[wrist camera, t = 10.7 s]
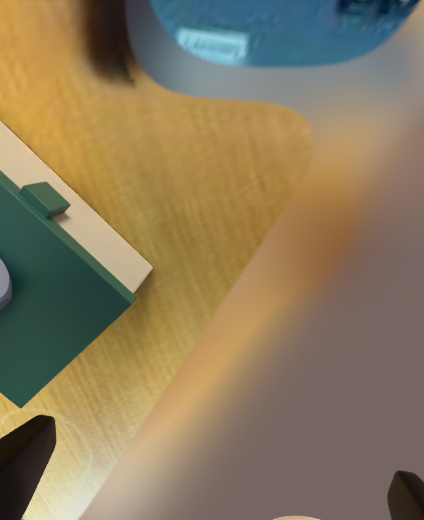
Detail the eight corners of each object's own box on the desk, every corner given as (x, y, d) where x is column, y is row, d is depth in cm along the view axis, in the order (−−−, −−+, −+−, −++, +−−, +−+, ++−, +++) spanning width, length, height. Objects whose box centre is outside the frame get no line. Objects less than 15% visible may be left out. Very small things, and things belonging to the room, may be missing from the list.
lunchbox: (163, 262, 20) (138, 298, 16) (63, 359, 23) (16, 413, 19) (-3, 101, 18) (-90, 86, 14) (-90, 229, 21) (-186, 253, 17)
